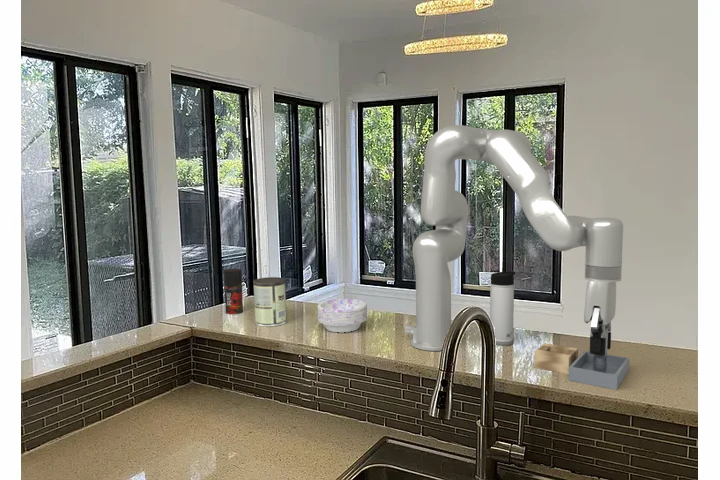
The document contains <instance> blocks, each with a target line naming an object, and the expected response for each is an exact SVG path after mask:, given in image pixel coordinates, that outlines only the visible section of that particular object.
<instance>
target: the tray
mask: <svg viewBox="0 0 720 480" xmlns="http://www.w3.org/2000/svg"><path fill="white" fill-rule="evenodd" d="M593 357H594V354H591V353H590V350H584V351H583V352H582V353H581V354H580V355H578V358H577V359H576V360H575V361H574V362H573V363H572V364H571V365H570V366H569V374H568V381H570V382H575V383H580V384H585V385H589V386H595V387H598V388H604V389H610V390H615V391H617V390H618V388H619V387H620V386H621V384H622V383H623V380H625V378H626V377H627V374H629V372H630V357H625V356H624V357H623V356H620V355H619V356H618V355H614V354H613V355H612V354H608V353H607V366H606V373H603V372H597V371H593Z"/></svg>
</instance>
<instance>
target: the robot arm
mask: <svg viewBox="0 0 720 480" xmlns="http://www.w3.org/2000/svg"><path fill="white" fill-rule="evenodd" d="M457 160H469V161H470V160H471V161H481V162H489V163H492V164H493V165H494V167H495V168H496V169H497V171H499V173H500V175H501V176H502V177H503V179H505V181H506V182H507V184H508V185H509V186H510V187H511V189H512V190H513V192H514V193H515V195H516V197H517V198H518V201H519V204H520V207H521V208H522V210H523V212H524V215H525V216H526V219H527V221H528V222H529V223H530V225H531V226H532V228H533V229H534V231H536V233H537V234H538V235H539V237H540V238H541V239H542V241H543V242H544V243H545V244H546V245H547V246H548V247H550V248H551V249H552V250H555V251H558V252H566V251H570V250H572V249H576V248H579V247H585V256H584V257H585V260H584V261H585V262H584V280H587V285H586V290H585V291H586V292H585V298H584V299H585V302H584V313H583V314H584V315H583V321H584V323H585V324H588V323H589V322H591V325H590V333H589V334H590V336H589V352H590V353H591V354H595V355H601V356H604V355H605V348H606V338H604V335H605V325H607V324H608V323H609V328H608V344H607V350H611V346H612V345H611V344H612V342H611V341H612V331H611V330H612V321H613V319H614V318H615V316H616V307H617V306H616V305H617V283H618V282H620V281H622V268H623V267H622V266H623V265H622V264H623V245H624V244H623V241H624V224H623V221H622V220H621V219H619V218H615V217H614V218H613V217H585V216H580V215H579V216H578V215H567V214H566V213H565V212H564V210H562V208H561V207H560V205H559V204H558V203H557V202H556V199H555V198H554V196H553V194H552V192H551V189H550V177H549V175H548V173H547V171H546V170H545V168H544V167H543V166H542V164H540V162H539V161H538V159H536V157H535V156H534V155H533V154H532V145H531V141H530V139H529V137H528V136H526V135H525V133H523V132H520V131H517V130H511V129H499V130H497V129H487V128H481V127H473V126H468V125H463V124H456V125H455V124H454V125H447V126H444V127H443V128H441V129H439V130H437V131H436V132H435V133H434V134H433V135H432V136H431V137H430V138H429V140H428V141H427V145H426V147H425V151H424V164H423V165H424V167H423V177H422V178H423V179H422V180H423V181H422V189H421V190H422V191H421V200H420V216H421V219H422V220H423V222H424V223H425V224H427V225H430V226H432V227H433V226H435V229H432V230H431V229H430V230H428V231H424V232H422V233H420V234H419V235H418V236H417V237H416V239H414V242H413V245H412V258H413V264H414V271H415V326H414V325H410V324H407V325H406V326H405V328H404V329H405V330H404V333H405V334H408V335H411V336H412V337H411V339H410V345H411V346H412V348H416V349H419V350H422V351H433V352H439V351H440V352H442V351H441V349H442V344H443V341H444V338H445V336H446V334H447V332H448V330H449V327H450V325H451V326H452V279H451V272H450V269H449V264H448V263H450V262H453V261H455V260H458V259H459V258H460V257H461V256H462V254H463V253H464V251H465V247H466V241H467V231H468V220H469V205H468V201H467V198H466V197H465V196H464V194H463V193H461V192H460V191H458V190H456V179H457V174H456V173H457V172H456V167H455V162H456V161H457ZM599 321H602V324H599ZM599 327H602V329H600V328H599Z"/></svg>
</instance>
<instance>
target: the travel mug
mask: <svg viewBox="0 0 720 480" xmlns="http://www.w3.org/2000/svg"><path fill="white" fill-rule="evenodd" d="M515 275H516V272H515V271H513V270H512V271H497V272H494V273H491V275H490V282H489V283H490V286H489V287H490V291H489V292H490V293H489V295H490V297H489V302H490V303H489V304H490V306H489V320H490V319H491V321H492V323H493V325H494V327H495V329H494V330H495V338H496V345H495V346H500V345H501V346H503V347H504V346H506V347H507V346H511V345H513V343H514V310H515V309H514V306H515V305H514V302H515V300H514V299H515V298H514V297H515V287H514V286H515V278H514V276H515Z"/></svg>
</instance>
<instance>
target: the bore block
mask: <svg viewBox="0 0 720 480" xmlns="http://www.w3.org/2000/svg"><path fill="white" fill-rule="evenodd" d="M578 357H579V348H577V347H570V346H563V345H559V344H552V343H546V342H545V343H543V344H542V345H541V346H539V348H537V349H536V350H535V351H534V355H533V358H534V359H533V360H534V361H533V362H534V363H533V364H534V365H533V368H534V369H540V370H544V371H551V372H555V373H559V374H566V375H569V366H570V365H571V364H572V363H573V362H574V361H575V360H576V359H577V358H578Z"/></svg>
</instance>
